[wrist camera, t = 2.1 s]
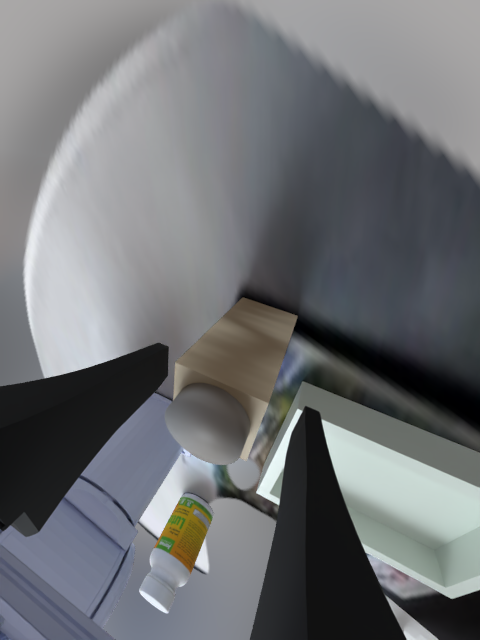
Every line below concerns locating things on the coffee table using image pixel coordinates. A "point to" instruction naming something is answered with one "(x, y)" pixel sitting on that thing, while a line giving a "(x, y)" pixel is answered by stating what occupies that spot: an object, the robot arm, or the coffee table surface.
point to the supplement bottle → (176, 551)
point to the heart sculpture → (410, 624)
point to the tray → (396, 489)
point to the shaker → (228, 382)
